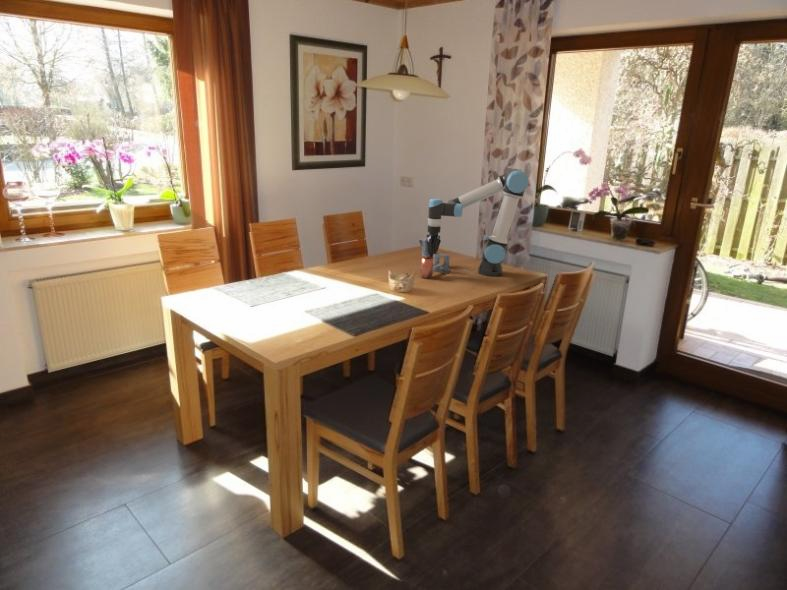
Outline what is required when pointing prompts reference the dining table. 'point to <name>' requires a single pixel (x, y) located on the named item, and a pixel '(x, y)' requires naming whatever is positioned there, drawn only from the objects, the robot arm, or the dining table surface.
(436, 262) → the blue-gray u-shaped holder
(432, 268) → the copper container
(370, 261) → the dining table surface
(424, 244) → the moka pot
